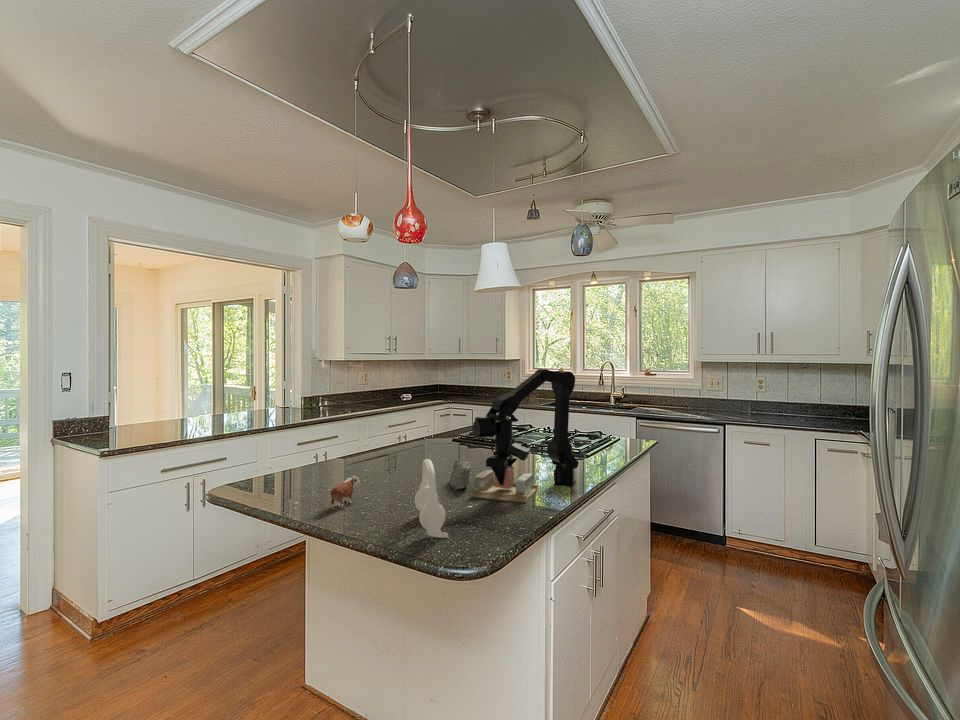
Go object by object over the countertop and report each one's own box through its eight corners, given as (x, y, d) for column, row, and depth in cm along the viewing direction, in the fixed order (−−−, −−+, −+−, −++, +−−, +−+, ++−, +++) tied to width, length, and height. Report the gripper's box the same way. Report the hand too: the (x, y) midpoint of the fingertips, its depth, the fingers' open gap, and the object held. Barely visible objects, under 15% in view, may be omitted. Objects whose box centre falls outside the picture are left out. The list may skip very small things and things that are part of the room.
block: (499, 483, 169) (499, 465, 168) (513, 484, 167) (513, 466, 167) (494, 487, 164) (494, 469, 164) (509, 488, 162) (509, 470, 162)
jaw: (533, 488, 167) (533, 473, 167) (524, 496, 158) (524, 481, 157) (524, 487, 168) (524, 473, 168) (515, 496, 159) (515, 480, 158)
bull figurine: (363, 499, 160) (362, 474, 160) (338, 513, 148) (337, 485, 148) (351, 498, 162) (350, 473, 162) (325, 511, 149) (325, 484, 149)
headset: (414, 515, 145) (413, 454, 145) (438, 513, 147) (437, 452, 146) (420, 541, 126) (419, 470, 125) (448, 538, 127) (447, 468, 127)
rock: (470, 491, 167) (471, 462, 168) (446, 490, 167) (447, 461, 168) (472, 486, 182) (473, 459, 183) (450, 486, 182) (451, 459, 183)
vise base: (537, 490, 168) (537, 472, 168) (526, 502, 155) (525, 483, 155) (487, 485, 175) (487, 468, 175) (472, 496, 162) (472, 478, 162)
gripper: (518, 442, 153) (519, 493, 154) (534, 432, 171) (535, 477, 171) (484, 440, 157) (485, 489, 158) (503, 430, 175) (504, 475, 175)
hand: (504, 482), depth 165 cm, fingers closed on block, 5 cm apart
